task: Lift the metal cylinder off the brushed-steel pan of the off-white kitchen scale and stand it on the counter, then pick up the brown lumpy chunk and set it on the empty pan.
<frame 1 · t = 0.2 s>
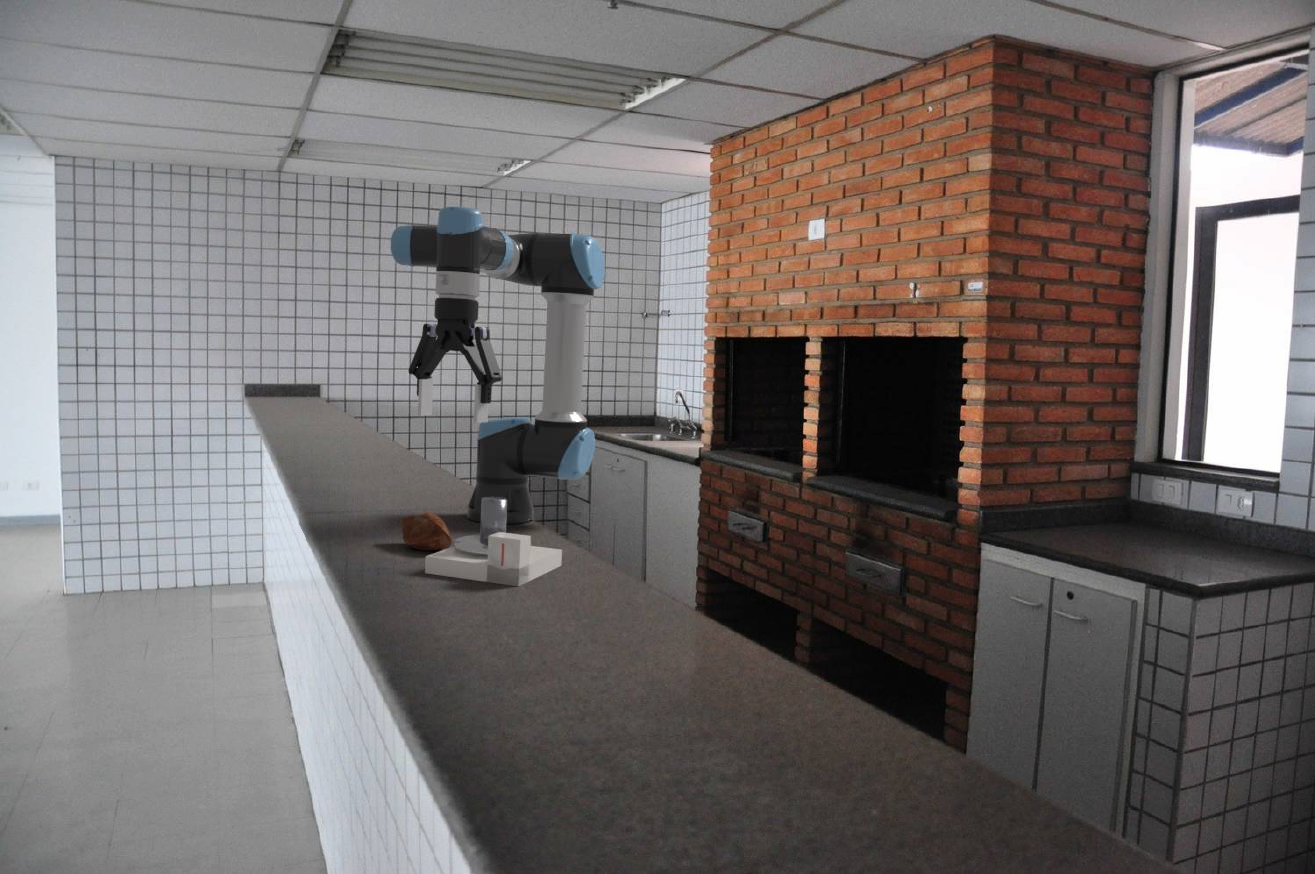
hand: (452, 419, 177), 27 cm above the counter, fingers open, 13 cm apart
scale: (495, 569, 181), on the counter
pan: (492, 546, 182), point 4 cm above the counter, slide at 0.5 cm, touching scale, metal cylinder
metal cylinder: (492, 542, 182), point 4 cm above the counter, touching pan
brown lumpy chunk: (426, 550, 194), on the counter
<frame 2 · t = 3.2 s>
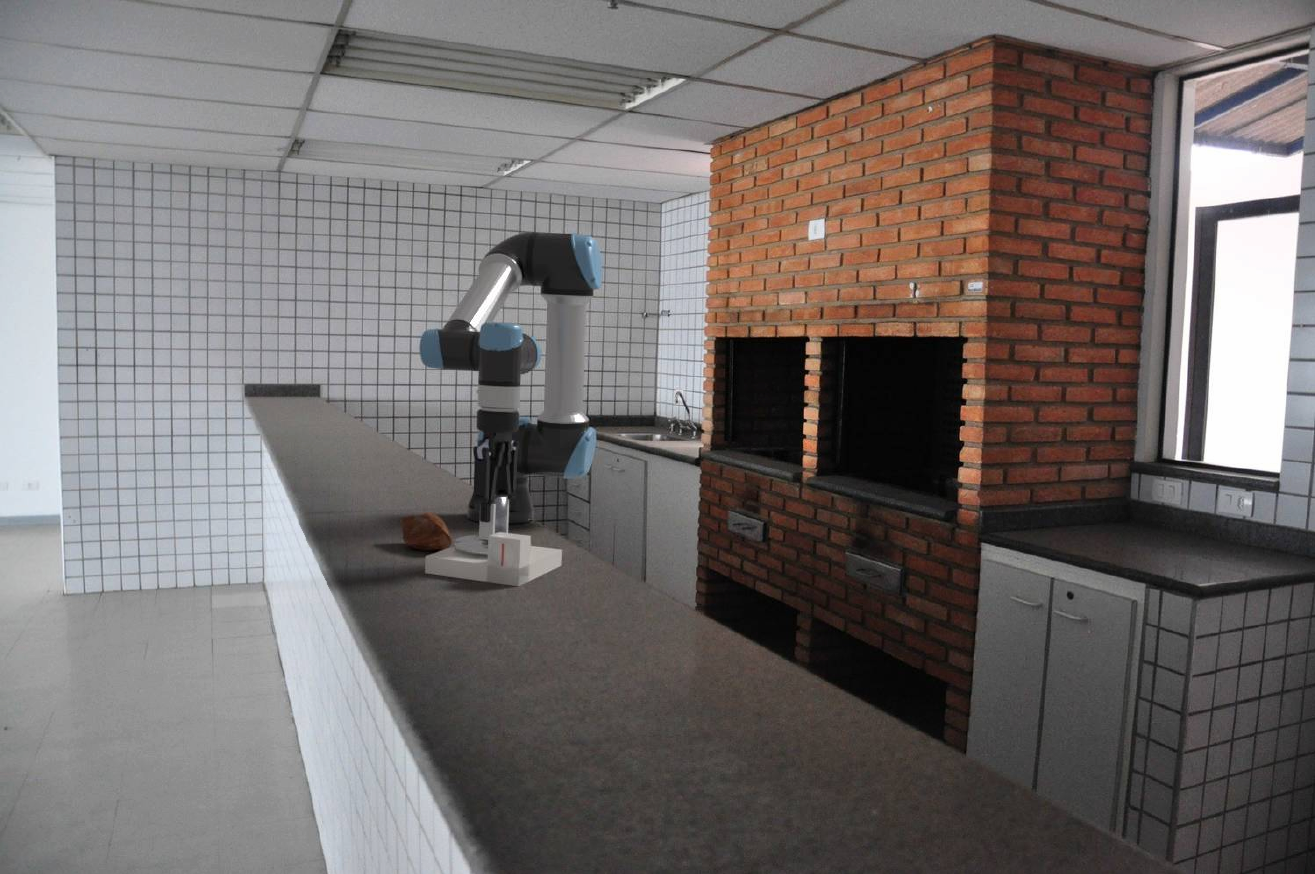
hand: (493, 536, 183), 6 cm above the counter, fingers closed on metal cylinder, 5 cm apart
pan: (492, 546, 182), point 4 cm above the counter, slide at 0.5 cm
metal cylinder: (493, 539, 183), point 5 cm above the counter, touching gripper
everything else where it was.
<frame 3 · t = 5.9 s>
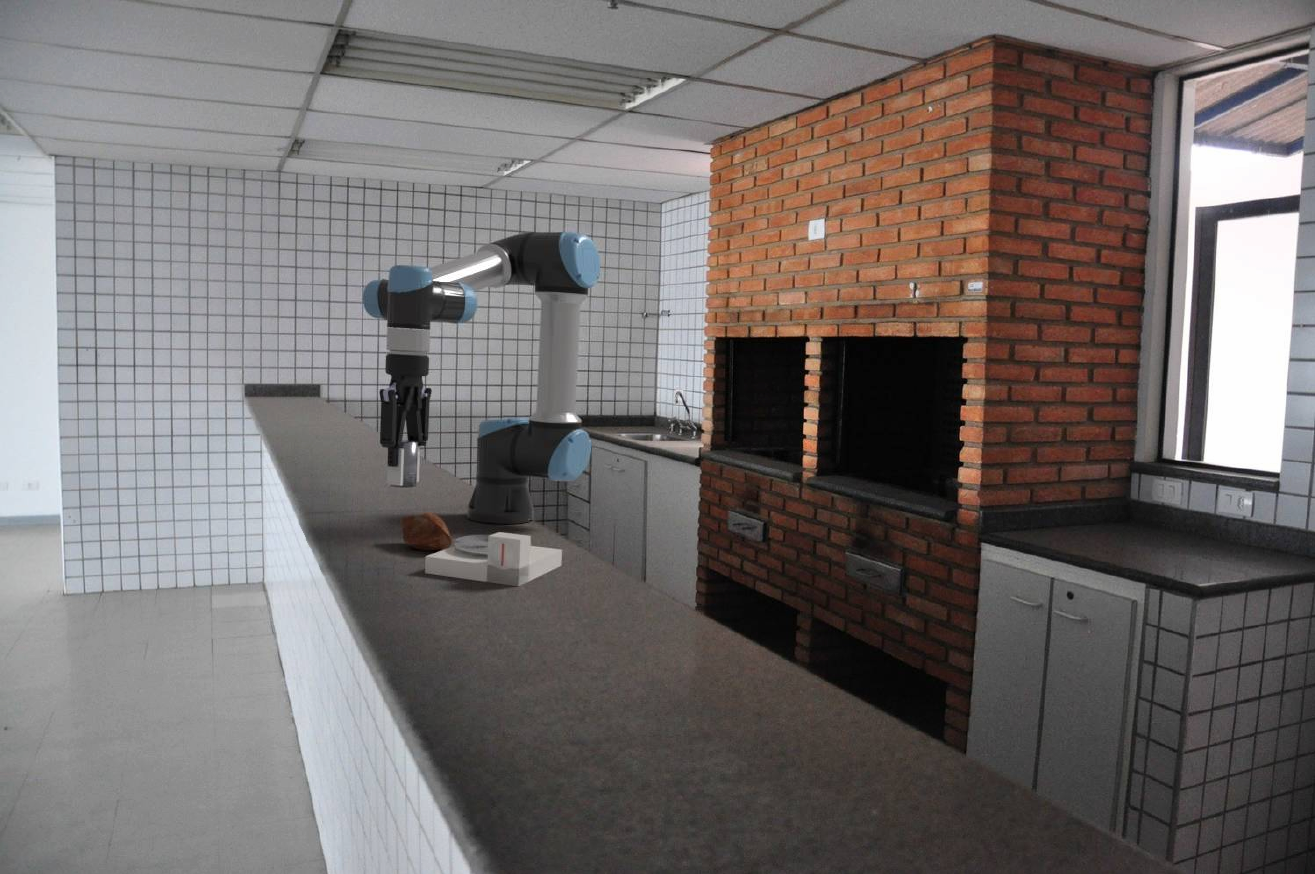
hand: (403, 482, 181), 15 cm above the counter, fingers closed on metal cylinder, 5 cm apart
metal cylinder: (403, 485, 181), point 14 cm above the counter, touching gripper
everything else where it was.
when the fingers open (2 cm above the counter, at t = 8.3 s): metal cylinder drops 1 cm, on the counter.
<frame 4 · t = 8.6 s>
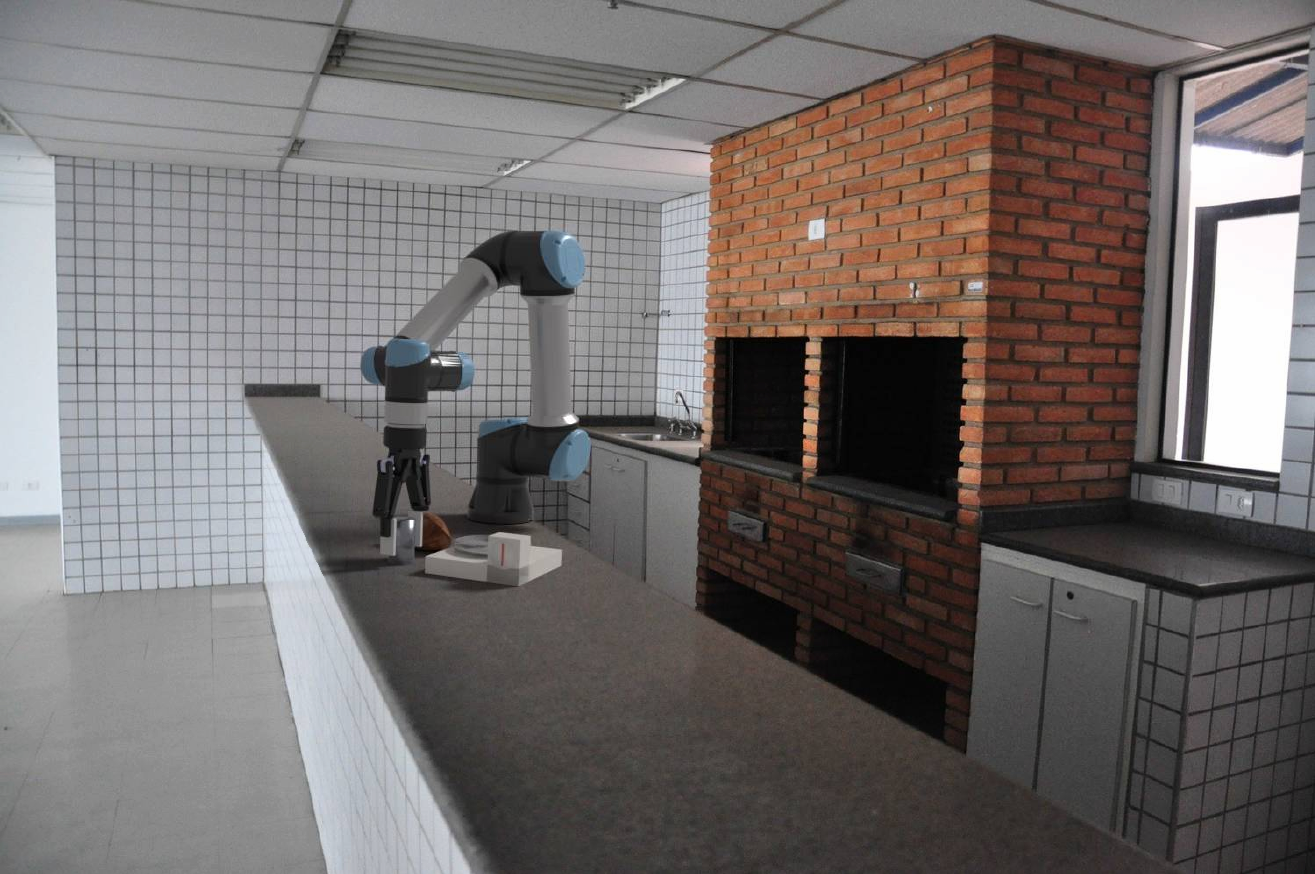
hand: (401, 549, 182), 2 cm above the counter, fingers open, 8 cm apart
metal cylinder: (401, 562, 182), on the counter
everything else where it was.
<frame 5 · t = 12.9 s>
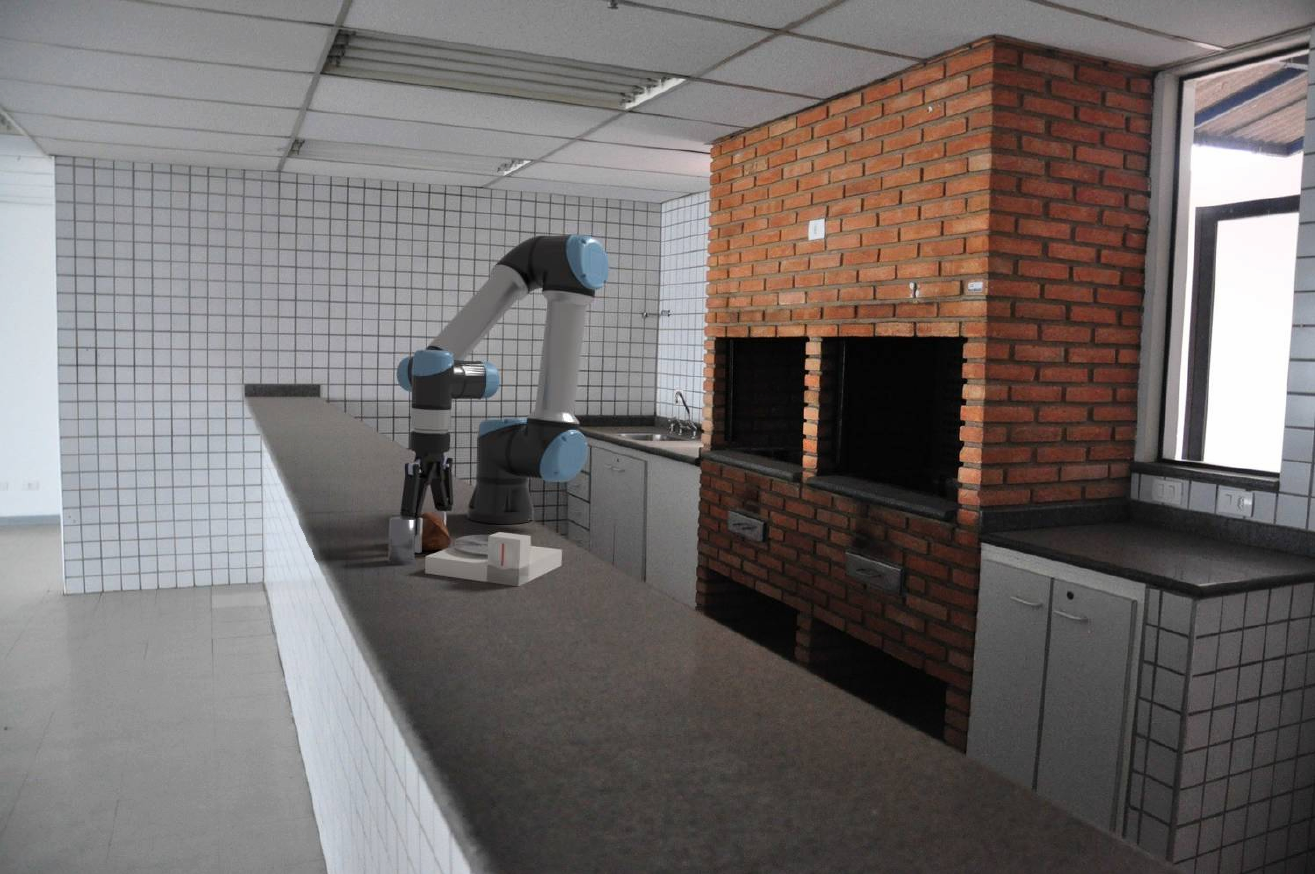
hand: (426, 547, 194), 0 cm above the counter, fingers closed on brown lumpy chunk, 8 cm apart
brown lumpy chunk: (425, 550, 194), on the counter, touching gripper
everything else where it was.
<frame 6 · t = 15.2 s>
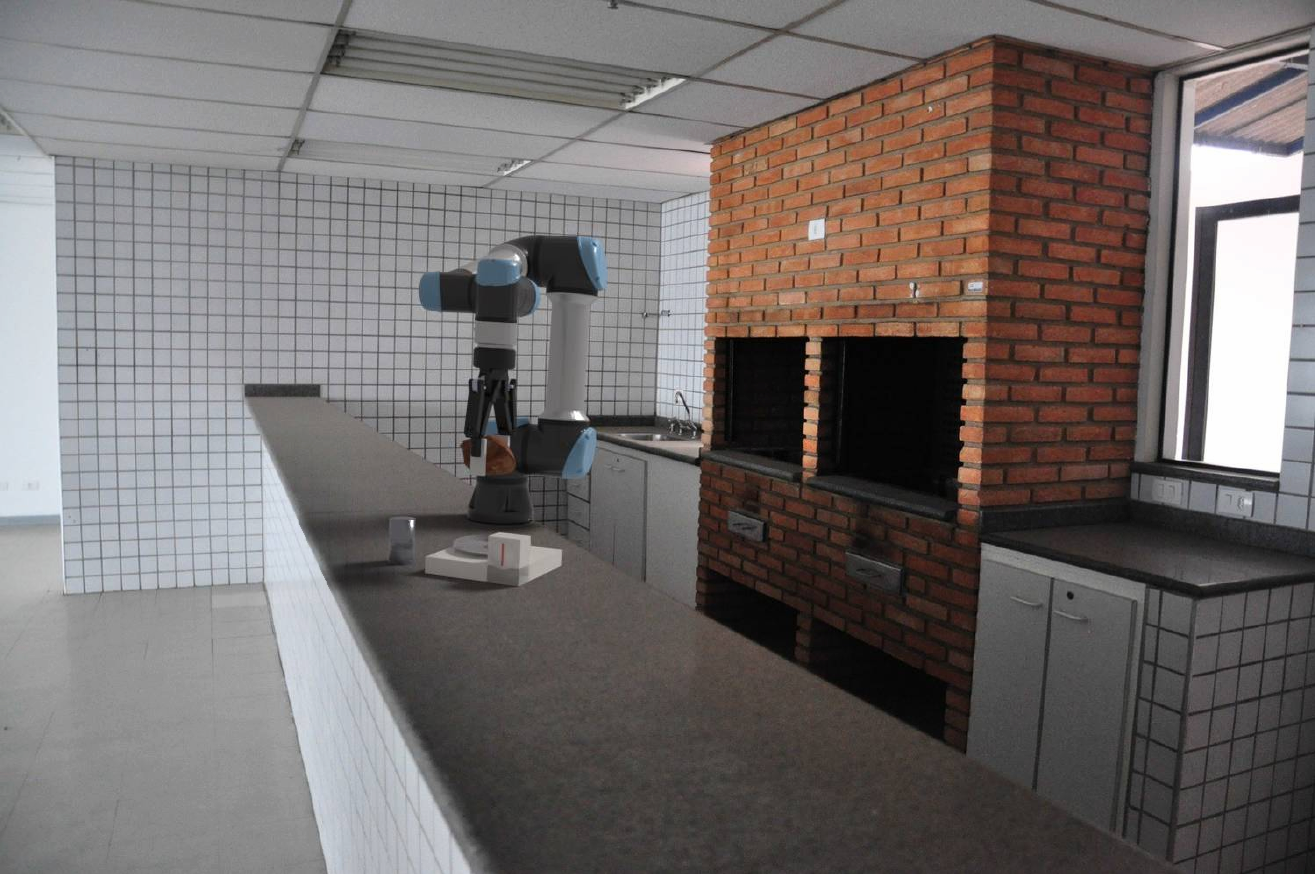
hand: (489, 472, 182), 17 cm above the counter, fingers closed on brown lumpy chunk, 8 cm apart
brown lumpy chunk: (488, 475, 181), point 17 cm above the counter, touching gripper
everything else where it was.
when the fingers open (7 cm above the counter, at t = 17.6 s): brown lumpy chunk drops 2 cm, resting on pan.
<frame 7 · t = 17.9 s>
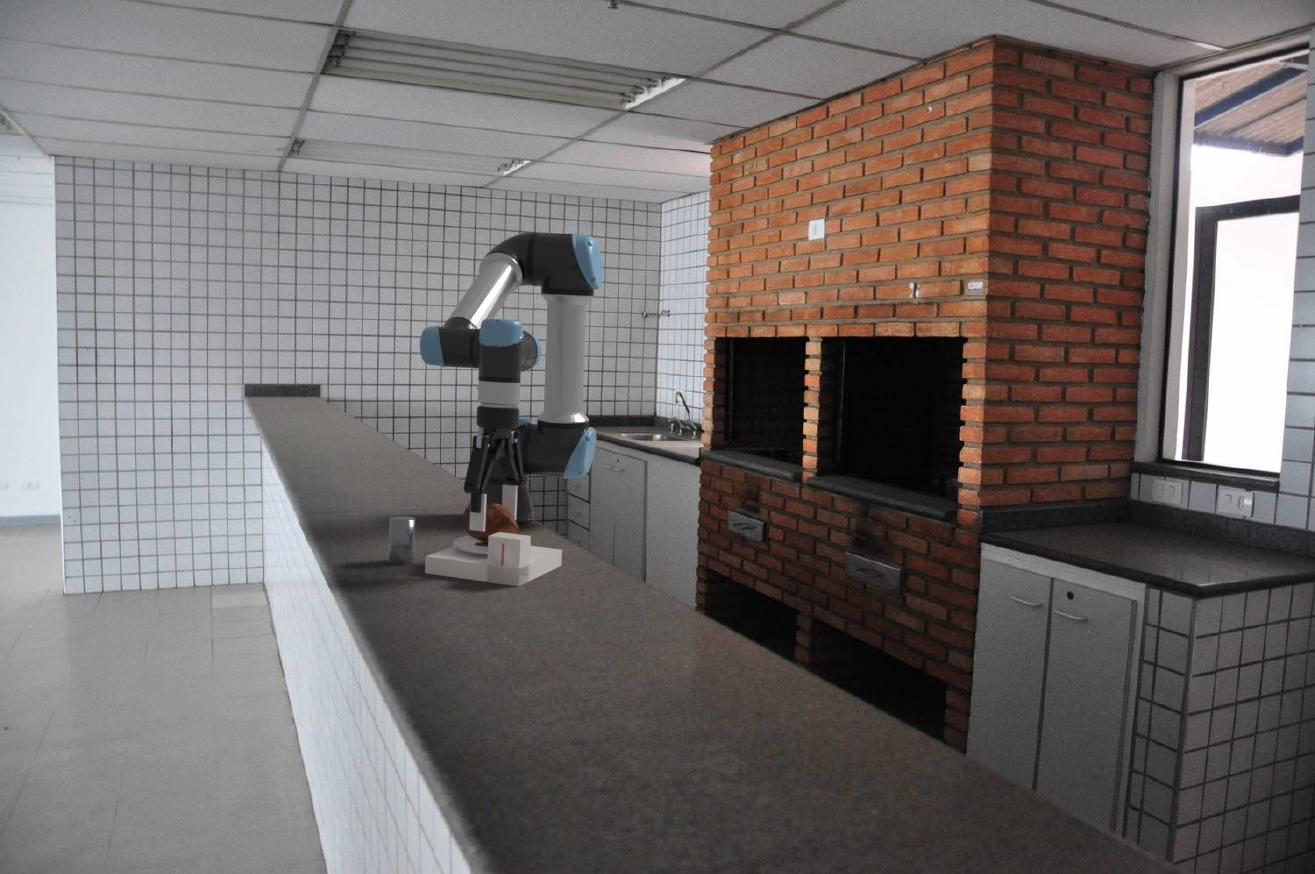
hand: (493, 525, 182), 8 cm above the counter, fingers open, 11 cm apart
pan: (492, 546, 182), point 4 cm above the counter, slide at 0.5 cm, touching brown lumpy chunk
brown lumpy chunk: (491, 543, 182), point 4 cm above the counter, touching pan
everything else where it was.
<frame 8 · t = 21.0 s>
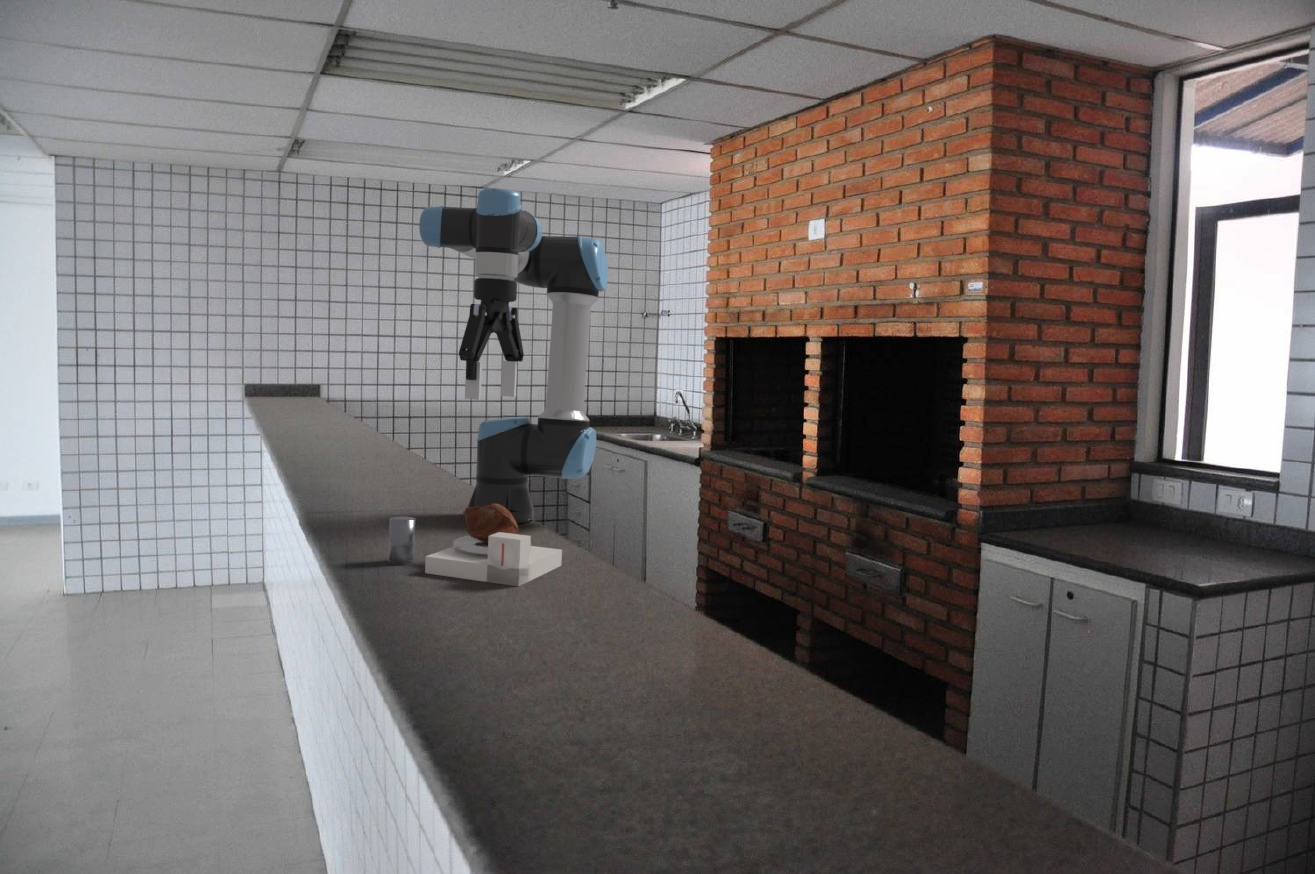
hand: (491, 397, 180), 31 cm above the counter, fingers open, 13 cm apart
nothing on the counter moved.
at the end: brown lumpy chunk inside the target area on the pan (0.1 cm from its centre), point 4.8 cm above the pan's base; the gripper is holding nothing; metal cylinder inside the target area (0.0 cm from its centre), on the counter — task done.
